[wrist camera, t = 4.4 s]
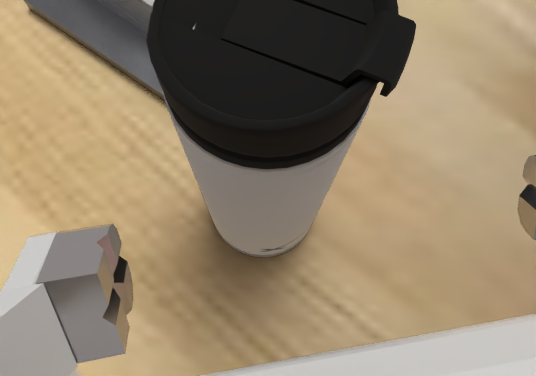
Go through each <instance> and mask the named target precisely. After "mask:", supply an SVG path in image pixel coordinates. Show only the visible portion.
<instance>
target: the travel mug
mask: <svg viewBox="0 0 536 376" xmlns="http://www.w3.org/2000/svg"><path fill="white" fill-rule="evenodd" d="M152 6H153V12H151V15H150V21H149V27H148V33H147V39H146V43H147V47H148V51H149V55H150V60H151V63H152V65H153V68H154V70H155V73H156V75H157V78H158V81H159V83H160V86H161V88H162V91H163V95H164V99H165V103H166V106H167V109H168V111H169V113H170V115H171V119H172V121H173V123H174V126H175V128H176V131H177V133H178V136H179V138H180V141H181V143H182V146H183V148H184V151H185V153H186V156H187V158H188V161H189V163H190V166H191V168H192V170H193V173H194V175H195V178H196V180H197V183H198V185H199V188H200V190H201V193H202V195H203V198H204V200H205V203H206V205H207V208H208V210H209V213H210V215H211V217H212V220H213V222H214V225H215V227H216V229H217V231H218V233H219V234H220V236H221V237H222V238H223V239H224V241H225V242H226V243H228V244H229V245H230V246H231V247H232V248H234V249H236V250H237V251H239V252H241V253H243V254H246V255H249V256H254V257H273V256H276V255H280V254H283V253H285V252H287V251H289V250H291V249H292V248H294V247H295V246H296V245H297V244H299V243H300V242H301V240H302V239H303V238H304V237H305V236H306V234H307V232H308V231H309V229H310V227H311V225H312V223H313V221H314V219H315V217H316V215H317V213H318V211H319V209H320V207H321V205H322V203H323V200H324V198H325V196H326V194H327V192H328V190H329V188H330V186H331V184H332V182H333V180H334V178H335V176H336V174H337V172H338V170H339V168H340V166H341V164H342V162H343V159H344V157H345V155H346V153H347V151H348V149H349V147H350V145H351V143H352V141H353V139H354V137H355V135H356V133H357V131H358V129H359V127H360V125H361V123H362V120H363V118H364V116H365V114H366V112H367V110H368V107H369V103H370V100H371V97H372V95H373V93H374V91H375V89H376V86H377V84H378V83H379V82H382V83H384V85H383V88H382V90H381V93H380V95H383V96H385V97H387V96H388V95H389V93H390V92H391V91H392V90H393V89H394V88H395V87H396V85H397V83H398V81H399V79H400V76H401V74H402V72H403V70H404V67H405V64H406V62H407V59H408V56H409V53H410V50H411V47H412V44H413V40H414V35H415V29H416V24H415V22H414V21H413V20H410V19H408V18H405V17H402V16H400V15H399V14H398V4H397V0H155V1H154V3H153V5H152Z"/></svg>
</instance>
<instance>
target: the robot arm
mask: <svg viewBox="0 0 536 376" xmlns="http://www.w3.org/2000/svg"><path fill="white" fill-rule="evenodd" d="M523 178H524V179H525V181H526V182H527V183H528V186H527V187H526V188H525V189H524V191H523V192H522V193H521V194H520V195H519V204H518V213H519V217H520V222H521V224H522V226H523V228H524V229H525V231H526V232H527V233H528V234H529V235H530V236H531V238H532V239H534V240H536V155H534V156H530V157H528V159H527V161H526V163H525V165H524V170H523ZM120 248H121V240H120V237H119V234H118V231H117V228H116V227H115V226H114V225H113V224H107V225H100V226H93V227H86V228H80V229H73V230H66V231H60V232H57V231H56V232H51V233H45V234H40V235H34V236H31V237H29V238H28V239H27V241H26V243H25V245H24V247H23V249H22V251H21V253H20V255H19V257H18V259H17V261H16V263H15V265H14V267H13V269H12V271H11V273H10V275H9V277H8V279H7V281H6V283H5V285H4V287H3V289H2V290H0V376H70V375H71V374H72V372H73V371H74V370H75V369H76V367H77V363H82V362H87V361H92V360H96V359H101V358H106V357H111V356H116V355H121V354H125V352H126V346H127V339H128V333H129V323H128V320H127V317H126V315H127V314H128V313H129V312H130V311H131V310H132V305H133V283H132V278H131V273H130V269H129V266H128V262H127V261H126V260H124V259H123V258H122V257H120V256H119V253H120ZM199 376H536V314H530V315H525V316H519V317H514V318H509V319H503V320H498V321H492V322H487V323H481V324H476V325H471V326H465V327H460V328H454V329H449V330H443V331H438V332H433V333H427V334H422V335H416V336H411V337H405V338H400V339H394V340H389V341H384V342H378V343H373V344H367V345H362V346H356V347H351V348H346V349H340V350H335V351H329V352H324V353H318V354H313V355H308V356H302V357H297V358H291V359H286V360H280V361H275V362H269V363H264V364H259V365H253V366H248V367H242V368H237V369H231V370H226V371H221V372H215V373H210V374H204V375H199Z"/></svg>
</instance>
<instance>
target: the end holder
mask: <svg viewBox="0 0 536 376" xmlns="http://www.w3.org/2000/svg"><path fill="white" fill-rule="evenodd" d="M24 1H25V3H26V4H27V6H28V7H29V8H30V9H31V10H32V11H34V12H35V13H37V14H38V15H39V16H41V17H42V18H44V19H45V20H47V21H48V22H50V23H51V24H53V25H54V26H56V27H57V28H59V29H60V30H62V31H63V32H64V33H66V34H67V35H69V36H70V37H72V38H73V39H75V40H76V41H78V42H79V43H81V44H82V45H84V46H85V47H86V48H88V49H89V50H91V51H92V52H94V53H95V54H97V55H98V56H100V57H101V58H103V59H104V60H106V61H107V62H109V63H110V64H111V65H113V66H114V67H116V68H117V69H119V70H120V71H122V72H123V73H125V74H126V75H128V76H129V77H131V78H132V79H134V80H135V81H136V82H138V83H139V84H141V85H142V86H144V87H145V88H147V89H148V90H150V91H151V92H153V93H154V94H156V95H157V96H158V97H160V98H161V99H163V100H164V101H165V99H164V95H163V91H162V88H161V86H160V83H159V81H158V78H157V75H156V73H155V70H154V68H153V65H152V63H151V60H150V55H149V51H148V47H147V43H146V39H147V33H148V27H149V21H150V15H151V12H153V6H152V5H153V3H154V1H155V0H24Z"/></svg>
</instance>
